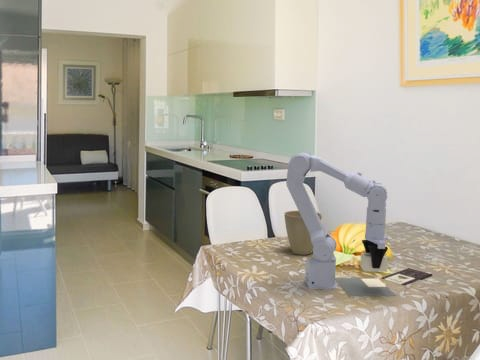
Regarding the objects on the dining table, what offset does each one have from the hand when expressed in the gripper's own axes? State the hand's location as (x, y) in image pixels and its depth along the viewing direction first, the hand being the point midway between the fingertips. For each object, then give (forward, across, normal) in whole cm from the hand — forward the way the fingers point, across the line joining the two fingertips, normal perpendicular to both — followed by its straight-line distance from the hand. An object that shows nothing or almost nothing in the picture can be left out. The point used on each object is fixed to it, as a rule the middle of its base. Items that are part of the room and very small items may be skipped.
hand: (373, 265), depth 153 cm
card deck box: (+1, 0, 0) cm, 1 cm away
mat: (+8, +3, +2) cm, 9 cm away
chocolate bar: (+9, +14, -16) cm, 23 cm away
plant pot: (+9, +44, +16) cm, 47 cm away
